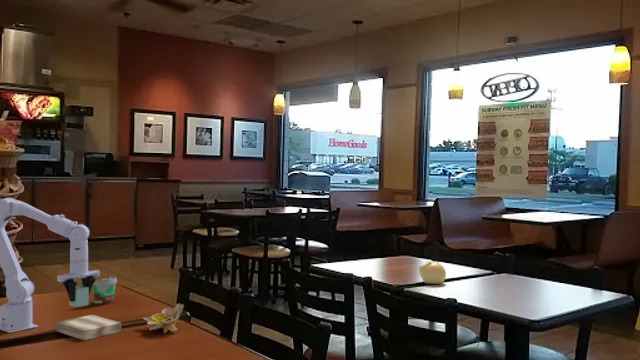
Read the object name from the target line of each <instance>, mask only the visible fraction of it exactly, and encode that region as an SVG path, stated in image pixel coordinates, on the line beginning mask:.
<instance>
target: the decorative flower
mask: <svg viewBox="0 0 640 360" xmlns="http://www.w3.org/2000/svg"><path fill="white" fill-rule="evenodd" d="M184 307H185V305H184V304H183V303H182V304H181V303H179V302H178V303H177V304H175V306H174V307H173V309H172V308H170V307H165V308H163V309H162V311H161V312H157V313H156V314H155V313H154V314H152V315H151V316H148V317H143V318H142V319H143V320H144V321H147V322H146V323H147V325H150V328H149V331H152V330H153V331H154V330H158V329H161V330H162V329H163V334H164V335H165V334H166V333H167V332H168V330H169V331H170V332H176V331H178V328H177V327H176V323H177V320H179V318H180V315H181V313H182V312H183V309H184Z"/></svg>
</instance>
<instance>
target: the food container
mask: <svg viewBox="0 0 640 360" xmlns="http://www.w3.org/2000/svg"><path fill="white" fill-rule="evenodd" d="M117 283H118V279H117V277H116V275H112V274H110V275H108V277H106V278H100V279H96V280H95V282H94V284H93V286H92V288H93V304H94V306H103V305H104V304H106V305H111V304H113V303H114V302H115V293H116V292H115V291H116V284H117ZM110 303H111V304H110Z"/></svg>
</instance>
